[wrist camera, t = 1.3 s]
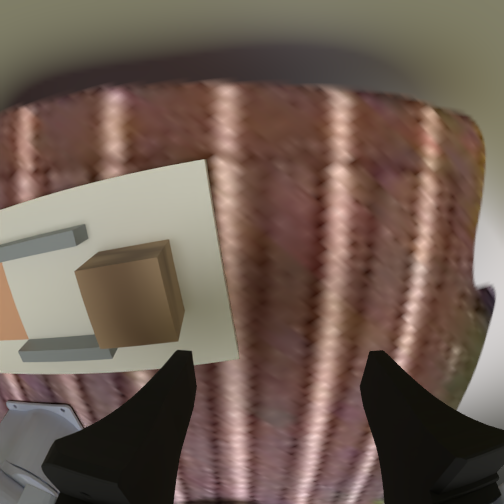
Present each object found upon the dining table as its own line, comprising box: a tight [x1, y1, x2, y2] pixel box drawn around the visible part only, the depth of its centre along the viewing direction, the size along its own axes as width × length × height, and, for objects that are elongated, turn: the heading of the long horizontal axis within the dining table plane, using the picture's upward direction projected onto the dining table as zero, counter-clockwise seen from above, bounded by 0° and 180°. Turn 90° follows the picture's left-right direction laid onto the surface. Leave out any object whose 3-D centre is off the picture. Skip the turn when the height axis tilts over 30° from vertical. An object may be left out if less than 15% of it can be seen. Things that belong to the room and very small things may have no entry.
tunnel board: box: [0, 159, 239, 374], centre depth 20 cm, size 33×14×4 cm, turn 98°
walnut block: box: [74, 239, 185, 349], centre depth 19 cm, size 5×5×4 cm
